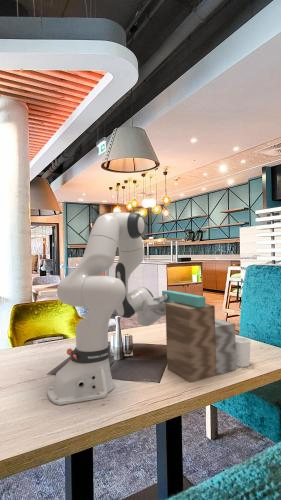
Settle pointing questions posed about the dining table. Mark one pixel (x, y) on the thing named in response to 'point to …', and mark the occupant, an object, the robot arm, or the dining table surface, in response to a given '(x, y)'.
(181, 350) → the stand
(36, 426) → the dining table surface
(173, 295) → the teal bar
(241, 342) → the white cup
